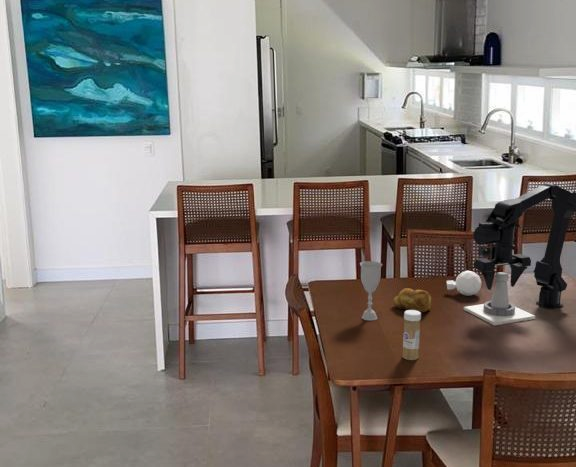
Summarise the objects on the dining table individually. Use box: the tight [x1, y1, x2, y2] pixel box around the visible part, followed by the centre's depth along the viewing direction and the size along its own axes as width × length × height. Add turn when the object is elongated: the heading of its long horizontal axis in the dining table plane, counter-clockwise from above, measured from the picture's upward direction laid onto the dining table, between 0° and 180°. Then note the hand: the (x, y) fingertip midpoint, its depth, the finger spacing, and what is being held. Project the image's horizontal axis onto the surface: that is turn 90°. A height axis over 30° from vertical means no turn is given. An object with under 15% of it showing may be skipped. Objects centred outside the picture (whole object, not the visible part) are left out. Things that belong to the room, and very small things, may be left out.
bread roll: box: [392, 287, 432, 314], centre depth 241 cm, size 13×10×8 cm
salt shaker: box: [490, 271, 510, 309], centre depth 235 cm, size 6×6×13 cm
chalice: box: [359, 260, 383, 321], centre depth 231 cm, size 7×7×18 cm
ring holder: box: [463, 300, 536, 326], centre depth 236 cm, size 16×16×3 cm
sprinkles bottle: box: [402, 310, 422, 361], centre depth 200 cm, size 5×5×13 cm
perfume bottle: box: [446, 270, 482, 297], centre depth 256 cm, size 9×9×12 cm
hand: (500, 288), depth 235 cm, fingers open, 9 cm apart
